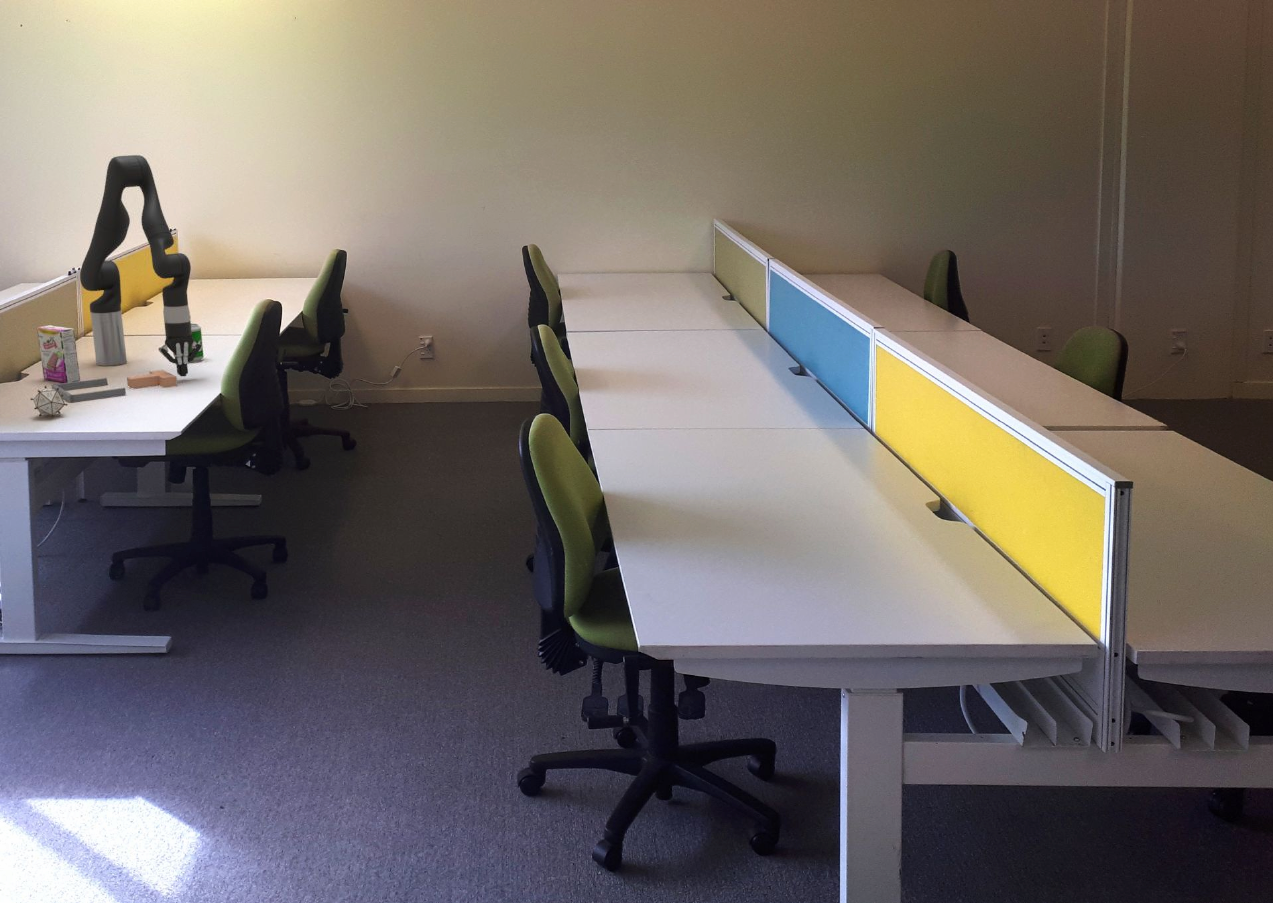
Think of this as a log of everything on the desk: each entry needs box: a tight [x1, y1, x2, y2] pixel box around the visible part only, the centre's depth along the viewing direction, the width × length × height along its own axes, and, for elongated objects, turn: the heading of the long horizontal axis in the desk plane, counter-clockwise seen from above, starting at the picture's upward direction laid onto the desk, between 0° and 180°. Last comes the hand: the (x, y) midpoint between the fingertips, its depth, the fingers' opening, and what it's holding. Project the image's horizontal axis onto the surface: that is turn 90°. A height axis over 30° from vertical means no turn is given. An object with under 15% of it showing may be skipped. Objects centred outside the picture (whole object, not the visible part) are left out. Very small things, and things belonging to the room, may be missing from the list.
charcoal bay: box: [51, 377, 127, 403], centre depth 357 cm, size 18×16×2 cm
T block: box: [126, 369, 178, 389], centre depth 368 cm, size 12×12×3 cm
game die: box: [30, 385, 69, 419], centre depth 330 cm, size 9×8×10 cm
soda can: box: [187, 323, 204, 364], centre depth 401 cm, size 8×8×12 cm
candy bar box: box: [36, 324, 81, 383], centre depth 371 cm, size 11×5×16 cm, turn 62°
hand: (182, 375), depth 374 cm, fingers closed
